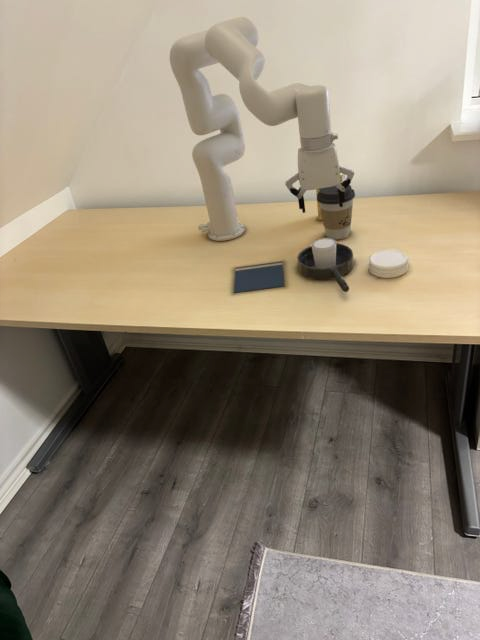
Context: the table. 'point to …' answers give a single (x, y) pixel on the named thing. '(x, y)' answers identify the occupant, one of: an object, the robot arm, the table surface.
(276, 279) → the cloth
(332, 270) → the pan handle
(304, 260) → the pan
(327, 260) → the white cup
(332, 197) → the coffee cup
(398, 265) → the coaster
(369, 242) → the table surface
